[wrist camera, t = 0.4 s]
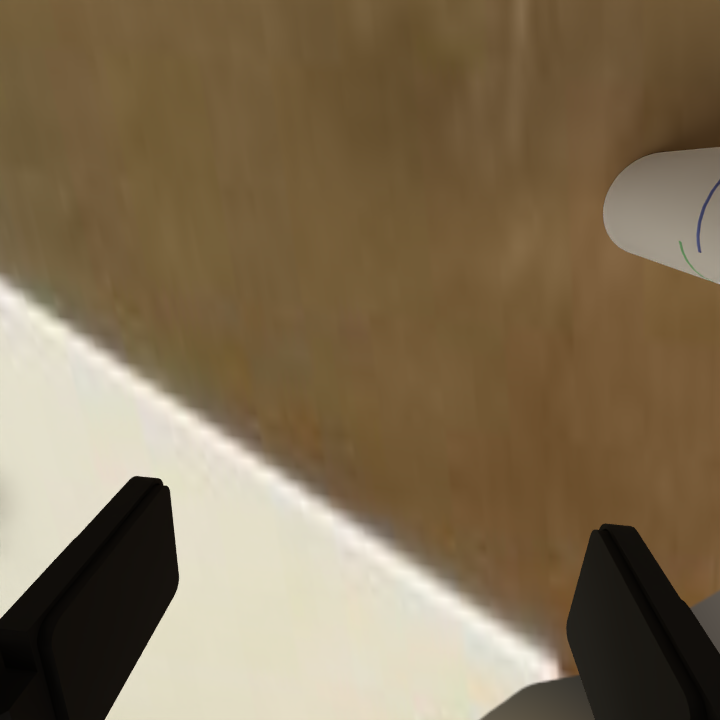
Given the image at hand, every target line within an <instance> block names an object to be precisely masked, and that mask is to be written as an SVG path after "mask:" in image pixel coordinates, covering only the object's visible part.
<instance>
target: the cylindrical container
mask: <svg viewBox="0 0 720 720" xmlns="http://www.w3.org/2000/svg"><path fill="white" fill-rule="evenodd" d="M603 220H604V225H605V228H606V231H607V233H608V235H609V237H610V238H611V240H612V241H613V242H614V243H615V244H616V245H617V246H618V247H619V248H621V249H623V250H625V251H626V252H629V253H632V254H635V255H637V256H640V257H643V258H646V259H649V260H652V261H655V262H657V263H660V264H663V265H666V266H669V267H672V268H675V269H677V270H680V271H683V272H686V273H689V274H692V275H695V276H697V277H700V278H703V279H706V280H709V281H712V282H715V283H717V284H720V147H713V148H702V149H692V150H681V151H670V152H660V153H654V154H650V155H647V156H644V157H642V158H640V159H638V160H636V161H634V162H633V163H632V164H630V165H629V166H627V167H626V168H625V169H624V170H623V171H622V172H621V173H620V174H619V175H618V176H617V177H616V179H615V180H614V182H613V183H612V185H611V186H610V188H609V191H608V193H607V195H606V198H605V202H604V206H603Z"/></svg>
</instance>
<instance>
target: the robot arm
mask: <svg viewBox="0 0 720 720" xmlns="http://www.w3.org/2000/svg"><path fill="white" fill-rule="evenodd" d="M178 582H179V572H178V563H177V554H176V544H175V535H174V525H173V516H172V506H171V497H170V490H169V487H168V486H163V482H162V480H161V479H159V478H150V477H140V476H135V477H132V478H131V479H130V480H129V481H128V482H127V483H126V484H125V485H124V486H123V488H122V489H121V490H120V491H119V492H118V493H117V494H116V495H115V496H114V497H113V498H112V499H111V501H110V502H109V503H108V504H107V505H106V506H105V507H104V508H103V509H102V510H101V511H100V512H99V514H98V515H97V516H96V517H95V518H94V519H93V520H92V521H91V522H90V523H89V524H88V526H87V527H86V528H85V529H84V530H83V531H82V532H81V533H80V534H79V535H78V536H77V537H76V538H75V539H74V540H73V541H72V542H71V543H70V544H69V545H68V546H67V547H66V548H65V549H64V551H63V552H62V553H61V554H60V555H59V556H58V557H57V558H56V559H55V560H54V561H53V562H52V563H51V565H50V566H49V567H48V568H47V569H46V570H45V571H44V572H43V573H42V574H41V575H40V576H39V578H38V579H37V580H36V581H35V582H34V583H33V584H32V585H31V586H30V587H29V588H28V589H27V591H26V592H25V593H24V594H23V595H22V596H21V597H20V598H19V599H18V600H17V601H16V602H15V604H14V605H13V606H12V607H11V608H10V609H9V610H8V611H7V612H6V613H5V614H4V615H3V617H2V618H1V619H0V720H105V718H106V716H107V715H108V713H109V711H110V709H111V707H112V706H113V704H114V702H115V700H116V699H117V697H118V695H119V693H120V691H121V690H122V688H123V686H124V684H125V682H126V681H127V679H128V677H129V675H130V674H131V672H132V670H133V668H134V666H135V665H136V663H137V661H138V659H139V658H140V656H141V654H142V652H143V650H144V649H145V647H146V645H147V643H148V641H149V640H150V638H151V636H152V634H153V633H154V631H155V629H156V627H157V625H158V624H159V622H160V620H161V618H162V616H163V615H164V613H165V611H166V609H167V608H168V606H169V604H170V602H171V600H172V599H173V597H174V595H175V593H176V590H177V587H178ZM566 629H567V638H568V642H569V645H570V648H571V651H572V654H573V657H574V659H575V662H576V665H577V668H578V671H579V674H580V677H581V680H582V683H583V686H584V689H585V692H586V694H587V697H588V700H589V703H590V706H591V709H592V712H593V715H594V718H595V720H720V654H719V652H718V651H717V649H716V648H715V646H714V645H713V643H712V642H711V640H710V638H709V637H708V635H707V634H706V632H705V631H704V629H703V628H702V626H701V625H700V623H699V622H698V620H697V619H696V617H695V615H694V614H693V612H692V611H691V609H690V608H689V607H688V605H687V604H686V603H685V602H684V601H683V600H681V599H680V597H679V596H678V594H677V593H676V591H675V589H674V588H673V586H672V585H671V583H670V582H669V580H668V579H667V577H666V575H665V574H664V572H663V571H662V569H661V568H660V566H659V565H658V563H657V561H656V560H655V558H654V557H653V555H652V554H651V552H650V550H649V549H648V547H647V546H646V544H645V543H644V541H643V540H642V538H641V536H640V535H639V533H638V532H637V530H636V529H635V528H634V527H631V526H623V525H614V524H602V526H601V527H600V529H599V530H593V531H592V533H591V535H590V539H589V543H588V546H587V550H586V554H585V557H584V561H583V565H582V568H581V572H580V576H579V579H578V583H577V587H576V590H575V594H574V598H573V601H572V605H571V609H570V612H569V616H568V620H567V627H566Z"/></svg>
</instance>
